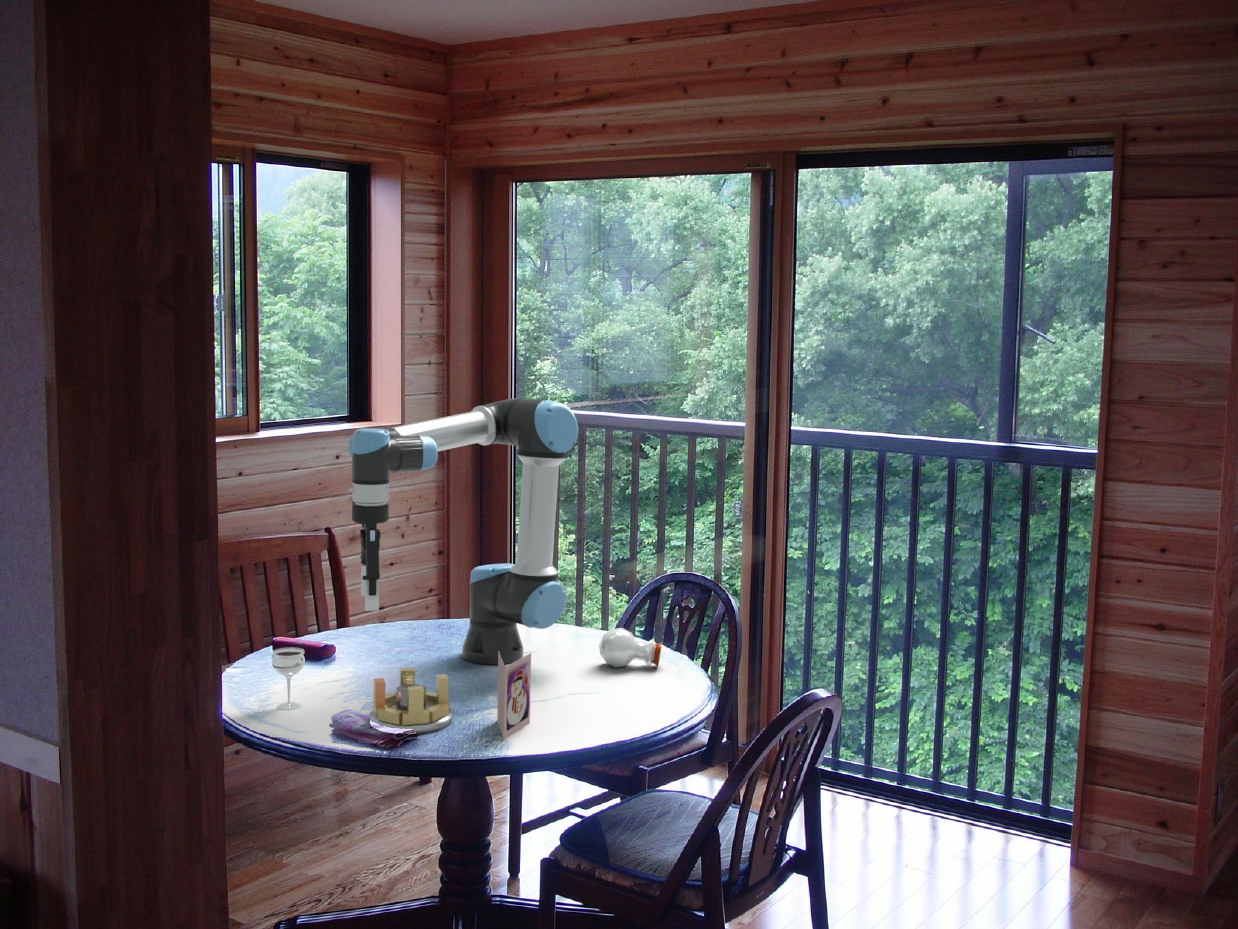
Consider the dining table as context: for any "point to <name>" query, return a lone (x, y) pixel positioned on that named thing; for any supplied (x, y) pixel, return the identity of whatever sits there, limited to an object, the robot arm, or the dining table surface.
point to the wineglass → (288, 669)
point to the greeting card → (513, 695)
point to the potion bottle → (627, 649)
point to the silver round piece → (402, 705)
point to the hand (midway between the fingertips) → (369, 602)
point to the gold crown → (411, 701)
